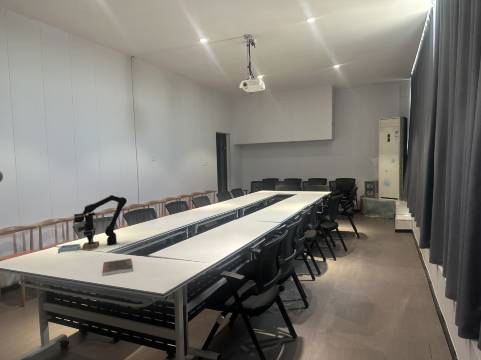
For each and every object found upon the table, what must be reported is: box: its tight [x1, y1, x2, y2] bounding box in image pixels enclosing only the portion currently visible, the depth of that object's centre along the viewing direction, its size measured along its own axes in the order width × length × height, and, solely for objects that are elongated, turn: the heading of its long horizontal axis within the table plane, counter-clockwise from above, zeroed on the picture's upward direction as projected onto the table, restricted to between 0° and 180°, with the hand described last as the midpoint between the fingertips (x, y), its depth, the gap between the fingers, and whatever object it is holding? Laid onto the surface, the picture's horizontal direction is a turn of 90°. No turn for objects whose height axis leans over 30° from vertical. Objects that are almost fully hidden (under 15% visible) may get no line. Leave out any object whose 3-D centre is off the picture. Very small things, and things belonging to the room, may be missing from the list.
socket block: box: [82, 240, 100, 251], centre depth 243 cm, size 10×10×4 cm
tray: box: [57, 243, 82, 254], centre depth 239 cm, size 13×11×3 cm
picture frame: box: [101, 258, 134, 277], centre depth 192 cm, size 16×2×22 cm
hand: (90, 241), depth 243 cm, fingers open, 9 cm apart
